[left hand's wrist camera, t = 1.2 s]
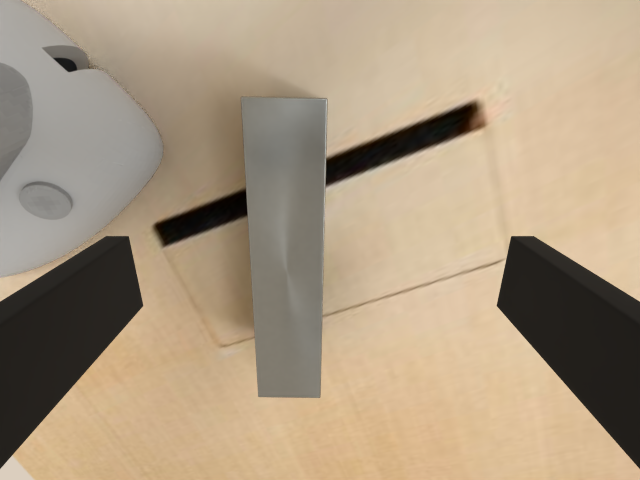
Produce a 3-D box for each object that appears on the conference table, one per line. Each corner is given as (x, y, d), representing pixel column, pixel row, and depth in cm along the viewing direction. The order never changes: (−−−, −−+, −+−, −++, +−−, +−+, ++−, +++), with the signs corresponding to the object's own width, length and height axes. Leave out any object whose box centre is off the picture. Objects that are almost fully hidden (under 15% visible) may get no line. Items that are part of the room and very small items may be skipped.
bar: (262, 98, 30) (240, 96, 22) (325, 100, 30) (327, 98, 22) (271, 333, 38) (258, 397, 30) (320, 334, 39) (320, 398, 30)
